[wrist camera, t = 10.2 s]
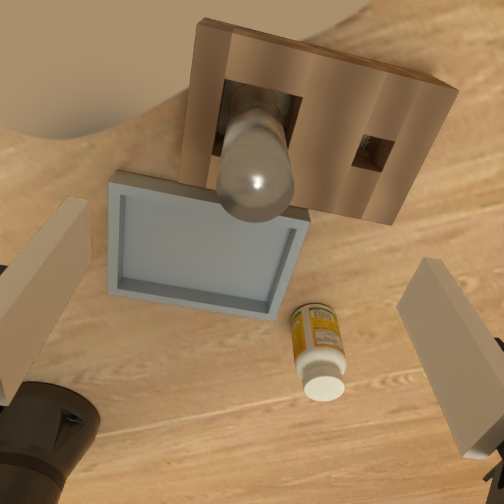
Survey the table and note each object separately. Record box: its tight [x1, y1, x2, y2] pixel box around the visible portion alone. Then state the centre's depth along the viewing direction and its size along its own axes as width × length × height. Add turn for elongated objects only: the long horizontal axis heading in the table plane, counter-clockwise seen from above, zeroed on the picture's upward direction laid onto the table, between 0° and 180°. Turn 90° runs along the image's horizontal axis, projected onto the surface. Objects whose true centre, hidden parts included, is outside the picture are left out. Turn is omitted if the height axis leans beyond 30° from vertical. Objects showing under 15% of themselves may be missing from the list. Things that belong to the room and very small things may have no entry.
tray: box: [107, 170, 311, 322], centre depth 39 cm, size 18×13×2 cm
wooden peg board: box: [177, 18, 459, 226], centre depth 31 cm, size 18×11×5 cm, turn 77°
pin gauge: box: [216, 84, 294, 223], centre depth 26 cm, size 4×4×15 cm
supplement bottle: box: [291, 304, 346, 401], centre depth 42 cm, size 5×5×10 cm
